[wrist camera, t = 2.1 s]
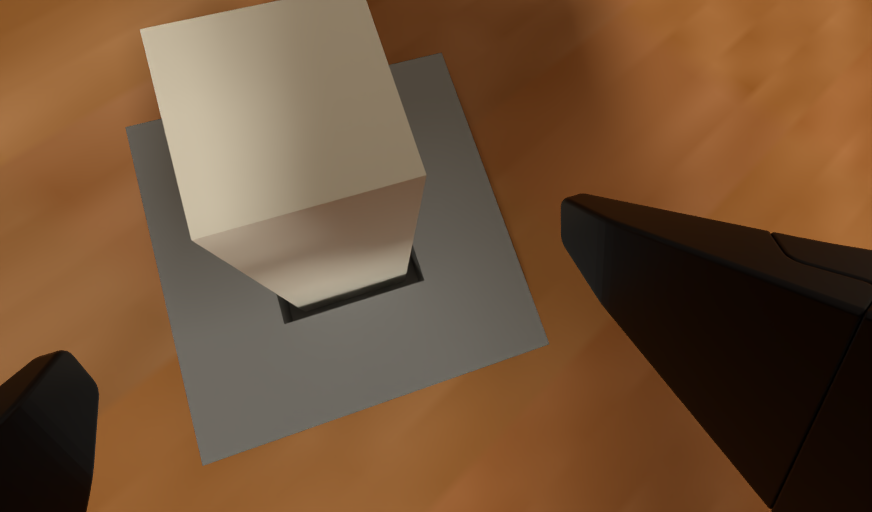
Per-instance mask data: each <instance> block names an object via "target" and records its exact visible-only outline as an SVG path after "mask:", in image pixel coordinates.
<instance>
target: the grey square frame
mask: <svg viewBox="0 0 872 512" xmlns="http://www.w3.org/2000/svg"><path fill="white" fill-rule="evenodd" d="M389 68H390V71H391V73H392V76H393V79H394V82H395V85H396V88H397V91H398V94H399V97H400V99H401V102H402V105H403V108H404V111H405V114H406V117H407V120H408V123H409V126H410V128H411V131H412V134H413V137H414V140H415V143H416V146H417V149H418V152H419V155H420V157H421V160H422V163H423V166H424V169H425V172H426V180H425V185H424V190H423V195H422V200H421V205H420V210H419V214H418V219H417V224H416V229H415V234H414V239H413V244H412V249H411V253H410V258H409V263H408V268H407V273H406V278H405V281H402V282H399V283H396V284H393V285H390V286H386V287H383V288H380V289H377V290H373V291H370V292H367V293H364V294H361V295H357V296H354V297H351V298H348V299H345V300H341V301H338V302H335V303H332V304H329V305H325V306H322V307H319V308H316V309H312V310H309V311H306V312H304V311H303V310H301V309H300V308H298V307H296V306H295V305H293V304H292V303H290V302H289V301H287V300H285V299H284V298H282V297H281V296H279V295H277V294H276V293H274V292H273V291H271V290H269V289H268V288H266V287H265V286H263V285H262V284H260V283H258V282H257V281H255V280H254V279H252V278H250V277H249V276H247V275H246V274H244V273H242V272H241V271H239V270H238V269H236V268H235V267H233V266H231V265H230V264H228V263H227V262H225V261H223V260H222V259H220V258H219V257H217V256H216V255H214V254H212V253H211V252H209V251H208V250H206V249H204V248H203V247H201V246H200V245H198V244H196V243H195V242H193V241H192V240H191V237H190V233H189V229H188V224H187V220H186V216H185V212H184V208H183V204H182V200H181V196H180V192H179V188H178V183H177V179H176V175H175V171H174V167H173V163H172V159H171V155H170V151H169V147H168V142H167V138H166V134H165V130H164V126H163V122H162V119H159V120H154V121H150V122H146V123H142V124H137V125H133V126H129V127H126V132H127V136H128V141H129V145H130V149H131V154H132V158H133V163H134V167H135V171H136V176H137V180H138V184H139V189H140V193H141V198H142V202H143V206H144V211H145V215H146V220H147V224H148V228H149V233H150V237H151V241H152V246H153V250H154V255H155V259H156V263H157V268H158V272H159V277H160V281H161V285H162V290H163V294H164V298H165V303H166V307H167V312H168V316H169V320H170V325H171V329H172V334H173V338H174V342H175V347H176V351H177V355H178V360H179V364H180V369H181V373H182V377H183V382H184V386H185V391H186V395H187V399H188V404H189V408H190V412H191V417H192V421H193V426H194V430H195V434H196V439H197V443H198V448H199V452H200V456H201V461H202V465H206V464H209V463H212V462H215V461H218V460H220V459H223V458H226V457H229V456H232V455H235V454H238V453H240V452H243V451H246V450H249V449H252V448H255V447H258V446H260V445H263V444H266V443H269V442H272V441H275V440H278V439H280V438H283V437H286V436H289V435H292V434H295V433H297V432H300V431H303V430H306V429H309V428H312V427H315V426H317V425H320V424H323V423H326V422H329V421H332V420H335V419H337V418H340V417H343V416H346V415H349V414H352V413H355V412H357V411H360V410H363V409H366V408H369V407H372V406H374V405H377V404H380V403H383V402H386V401H389V400H392V399H394V398H397V397H400V396H403V395H406V394H409V393H412V392H414V391H417V390H420V389H423V388H426V387H429V386H431V385H434V384H437V383H440V382H443V381H446V380H449V379H451V378H454V377H457V376H460V375H463V374H466V373H469V372H471V371H474V370H477V369H480V368H483V367H486V366H489V365H491V364H494V363H497V362H500V361H503V360H506V359H508V358H511V357H514V356H517V355H520V354H523V353H526V352H528V351H531V350H534V349H537V348H540V347H543V346H546V345H548V344H549V342H548V339H547V336H546V334H545V331H544V328H543V326H542V323H541V320H540V318H539V315H538V312H537V309H536V307H535V304H534V301H533V299H532V296H531V293H530V291H529V288H528V285H527V282H526V280H525V277H524V274H523V272H522V269H521V266H520V263H519V261H518V258H517V255H516V253H515V250H514V247H513V245H512V242H511V239H510V236H509V234H508V231H507V228H506V226H505V223H504V220H503V218H502V215H501V212H500V209H499V207H498V204H497V201H496V199H495V196H494V193H493V190H492V188H491V185H490V182H489V180H488V177H487V174H486V172H485V169H484V166H483V163H482V161H481V158H480V155H479V153H478V150H477V147H476V144H475V142H474V139H473V136H472V134H471V131H470V128H469V126H468V123H467V120H466V117H465V115H464V112H463V109H462V107H461V104H460V101H459V99H458V96H457V93H456V90H455V88H454V85H453V82H452V80H451V77H450V74H449V71H448V69H447V66H446V63H445V61H444V58H443V55H442V53H438V54H434V55H429V56H425V57H421V58H417V59H412V60H408V61H404V62H400V63H396V64H391V65H389Z"/></svg>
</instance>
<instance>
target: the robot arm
mask: <svg viewBox="0 0 872 512" xmlns="http://www.w3.org/2000/svg"><path fill="white" fill-rule="evenodd" d="M561 238H562V242H563V244H564V246H565V248H566V250H567V251H568V253H569V254H570V256H571V258H572V259H573V261H574V262H575V264H576V265H577V267H578V269H579V270H580V272H581V273H582V275H583V276H584V278H585V279H586V281H587V283H588V284H589V286H590V287H591V289H592V290H593V292H594V294H595V295H596V296H597V298H598V299H599V301H600V302H601V304H602V305H603V306H604V308H605V309H606V310H607V311H608V313H609V314H610V315H611V316H612V318H613V319H614V320H615V321H616V322H617V324H618V325H619V326H620V327H621V328H622V330H623V331H624V332H625V333H626V335H627V336H628V337H629V338H630V339H631V341H632V342H633V343H634V344H635V346H636V347H637V348H638V349H639V350H640V352H641V353H642V354H643V355H644V357H645V358H646V359H647V360H648V361H649V363H650V364H651V365H652V366H653V368H654V369H655V370H656V371H657V372H658V374H659V375H660V376H661V377H662V378H663V380H664V381H665V382H666V383H667V385H668V386H669V387H670V388H671V389H672V391H673V392H674V393H675V394H676V396H677V397H678V398H679V399H680V400H681V402H682V403H683V404H684V405H685V407H686V408H687V409H688V410H689V411H690V413H691V414H692V415H693V416H694V417H695V419H696V420H697V421H698V422H699V424H700V425H701V426H702V427H703V428H704V430H705V431H706V432H707V433H708V435H709V436H710V437H711V438H712V439H713V441H714V442H715V443H716V444H717V446H718V447H719V448H720V449H721V450H722V452H723V453H724V454H725V455H726V456H727V458H728V459H729V460H730V461H731V463H732V464H733V465H734V466H735V467H736V469H737V470H738V471H739V472H740V474H741V475H742V476H743V477H744V478H745V480H746V481H747V482H748V483H749V485H750V486H751V487H752V488H753V489H754V491H755V492H756V493H757V494H758V496H759V497H760V498H761V499H762V500H763V502H764V503H765V504H766V505H767V506H768V508H770V509H772V510H771V511H772V512H872V250H868V249H862V248H856V247H850V246H844V245H838V244H832V243H827V242H821V241H816V240H811V239H806V238H800V237H795V236H790V235H786V234H781V233H776V232H773V233H771V234H770V232H769V231H765V230H761V229H756V228H751V227H746V226H741V225H736V224H731V223H726V222H721V221H716V220H711V219H707V218H702V217H697V216H692V215H687V214H682V213H677V212H672V211H667V210H662V209H658V208H653V207H648V206H643V205H638V204H633V203H628V202H623V201H618V200H613V199H608V198H604V197H599V196H594V195H589V194H578V195H574V196H571V197H568V198H565V199H564V200H563V201H562V204H561ZM98 402H99V392H98V387H97V385H96V383H95V381H94V380H93V379H92V377H91V376H90V375H89V374H88V373H87V372H86V370H85V369H84V368H83V367H82V366H81V364H80V363H79V362H78V361H77V360H76V358H75V357H74V356H73V355H72V354H71V353H69V352H68V351H63V350H60V351H56V352H53V353H49V354H46V355H43V356H39V357H37V358H35V359H33V360H32V361H31V362H29V363H28V364H27V365H26V366H24V367H23V368H22V369H21V370H20V371H18V372H17V373H16V374H15V375H13V376H12V377H11V378H10V379H8V380H7V381H6V382H5V383H3V384H2V385H1V386H0V512H86V511H87V506H88V501H89V496H90V490H91V484H92V478H93V469H94V459H95V444H96V430H97V416H98Z"/></svg>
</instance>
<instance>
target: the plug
mask: <svg viewBox="0 0 872 512" xmlns="http://www.w3.org/2000/svg"><path fill="white" fill-rule="evenodd" d="M140 32H141V36H142V40H143V44H144V48H145V52H146V56H147V60H148V65H149V69H150V73H151V77H152V81H153V85H154V89H155V93H156V97H157V101H158V106H159V110H160V114H161V118H162V122H163V126H164V130H165V134H166V138H167V142H168V147H169V151H170V155H171V159H172V163H173V167H174V171H175V175H176V179H177V183H178V188H179V192H180V196H181V200H182V204H183V208H184V212H185V216H186V220H187V224H188V229H189V233H190V237H191V240H192V241H193V242H195V243H196V244H198V245H200V246H201V247H203V248H204V249H206V250H208V251H209V252H211V253H212V254H214V255H216V256H217V257H219V258H220V259H222V260H223V261H225V262H227V263H228V264H230V265H231V266H233V267H235V268H236V269H238V270H239V271H241V272H242V273H244V274H246V275H247V276H249V277H250V278H252V279H254V280H255V281H257V282H258V283H260V284H262V285H263V286H265V287H266V288H268V289H269V290H271V291H273V292H274V293H276V294H277V295H279V296H281V297H282V298H284V299H285V300H287V301H289V302H290V303H292V304H293V305H295V306H296V307H298V308H300V309H301V310H303V311H304V312H306V311H309V310H312V309H316V308H319V307H322V306H325V305H329V304H332V303H335V302H338V301H341V300H345V299H348V298H351V297H354V296H357V295H361V294H364V293H367V292H370V291H373V290H377V289H380V288H383V287H386V286H390V285H393V284H396V283H399V282H402V281H405V278H406V273H407V268H408V263H409V258H410V253H411V249H412V244H413V239H414V234H415V229H416V224H417V219H418V214H419V210H420V205H421V200H422V195H423V190H424V185H425V180H426V172H425V169H424V166H423V163H422V160H421V157H420V155H419V152H418V149H417V146H416V143H415V140H414V137H413V134H412V131H411V128H410V126H409V123H408V120H407V117H406V114H405V111H404V108H403V105H402V102H401V99H400V97H399V94H398V91H397V88H396V85H395V82H394V79H393V76H392V73H391V71H390V68H389V65H388V62H387V59H386V56H385V53H384V50H383V47H382V44H381V42H380V39H379V36H378V33H377V30H376V27H375V24H374V21H373V18H372V16H371V13H370V10H369V7H368V4H367V1H366V0H279V1H274V2H269V3H265V4H260V5H255V6H250V7H245V8H240V9H236V10H231V11H226V12H221V13H216V14H211V15H207V16H202V17H197V18H192V19H187V20H182V21H177V22H173V23H168V24H163V25H158V26H153V27H148V28H144V29H140Z"/></svg>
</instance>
